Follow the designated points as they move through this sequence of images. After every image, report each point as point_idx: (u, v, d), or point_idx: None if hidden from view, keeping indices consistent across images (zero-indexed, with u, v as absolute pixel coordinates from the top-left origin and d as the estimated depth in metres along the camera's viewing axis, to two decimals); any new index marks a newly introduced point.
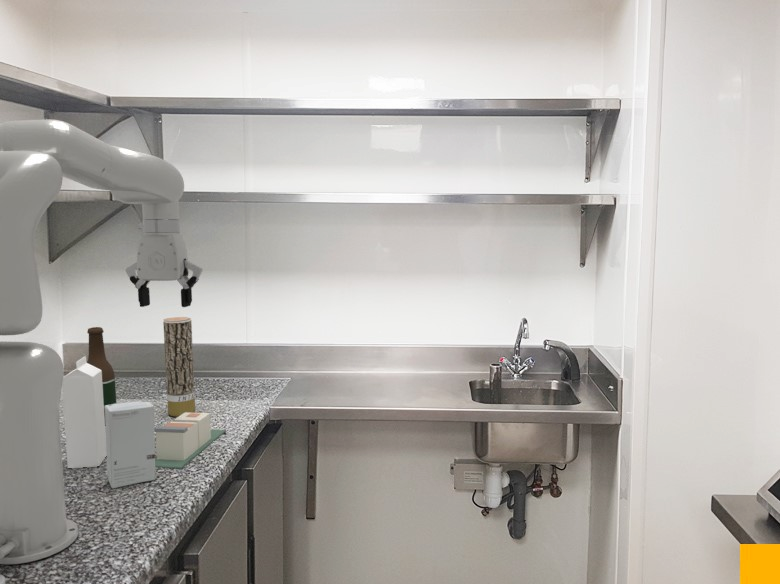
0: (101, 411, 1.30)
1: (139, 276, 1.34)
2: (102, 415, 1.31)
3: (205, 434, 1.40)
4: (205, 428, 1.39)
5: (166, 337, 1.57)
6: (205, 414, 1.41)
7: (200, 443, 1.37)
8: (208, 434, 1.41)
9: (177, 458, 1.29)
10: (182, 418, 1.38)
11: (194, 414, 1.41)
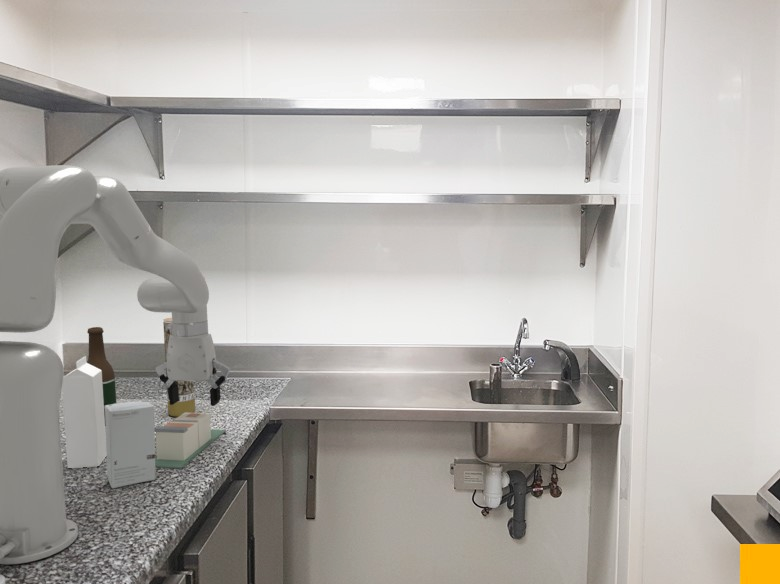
0: (101, 411, 1.30)
1: (169, 377, 1.38)
2: (102, 415, 1.31)
3: (205, 434, 1.40)
4: (205, 428, 1.39)
5: (166, 337, 1.57)
6: (205, 414, 1.41)
7: (200, 443, 1.37)
8: (208, 434, 1.41)
9: (177, 458, 1.29)
10: (182, 418, 1.38)
11: (194, 414, 1.41)
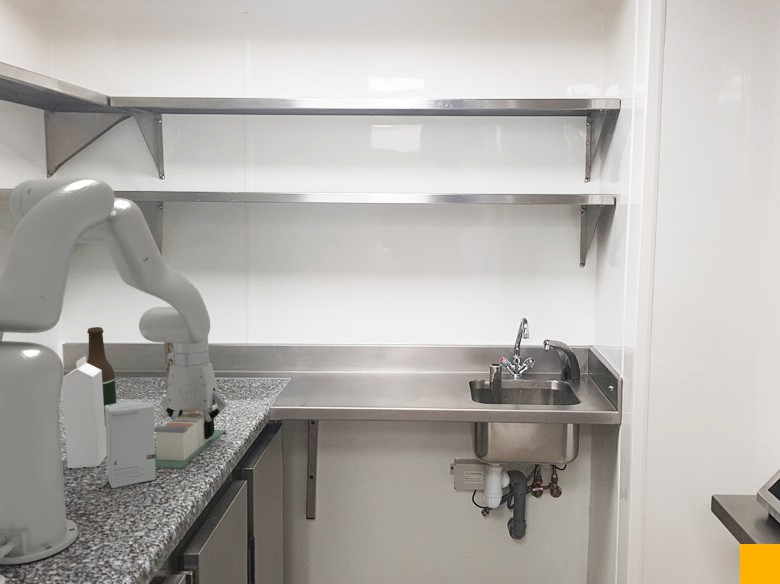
0: (101, 411, 1.30)
1: (169, 406, 1.38)
2: (102, 415, 1.31)
3: None
4: None
5: None
6: None
7: (200, 443, 1.37)
8: None
9: (177, 458, 1.29)
10: (182, 418, 1.38)
11: (194, 414, 1.41)
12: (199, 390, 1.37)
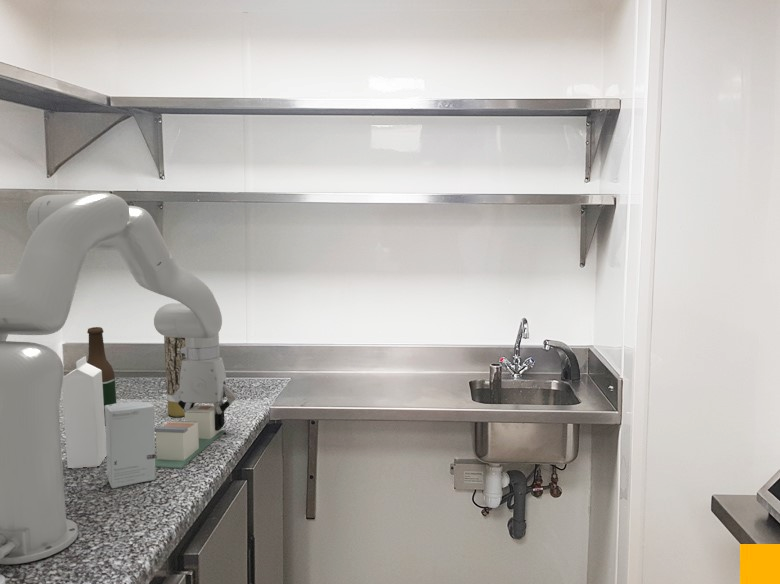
0: (101, 411, 1.30)
1: (182, 399, 1.44)
2: (102, 415, 1.31)
3: None
4: None
5: (166, 337, 1.57)
6: None
7: (211, 434, 1.43)
8: None
9: (177, 458, 1.29)
10: (193, 410, 1.44)
11: (205, 406, 1.46)
12: (210, 383, 1.42)
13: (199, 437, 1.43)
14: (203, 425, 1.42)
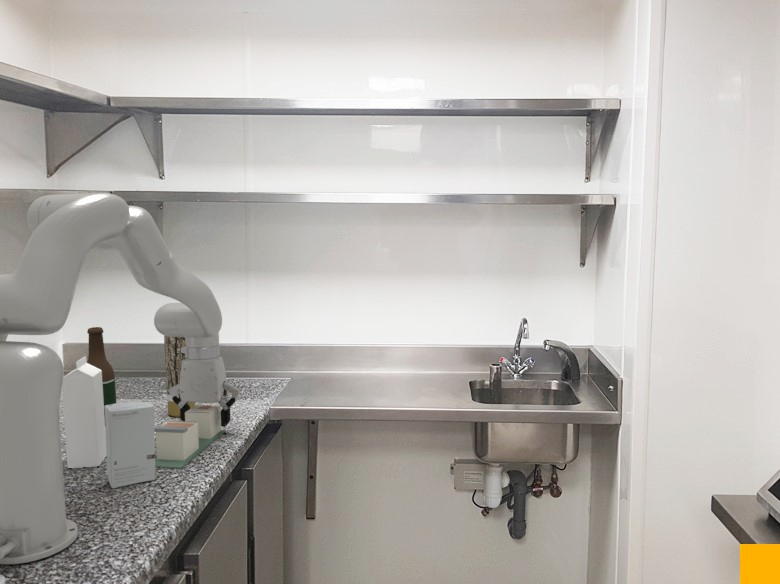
0: (101, 411, 1.30)
1: (182, 398, 1.44)
2: (103, 415, 1.31)
3: (216, 425, 1.45)
4: (216, 419, 1.45)
5: (166, 337, 1.57)
6: (216, 406, 1.47)
7: (211, 434, 1.43)
8: (219, 426, 1.47)
9: (177, 458, 1.29)
10: (194, 410, 1.44)
11: (205, 406, 1.46)
12: (210, 383, 1.42)
13: (199, 437, 1.43)
14: (203, 425, 1.42)
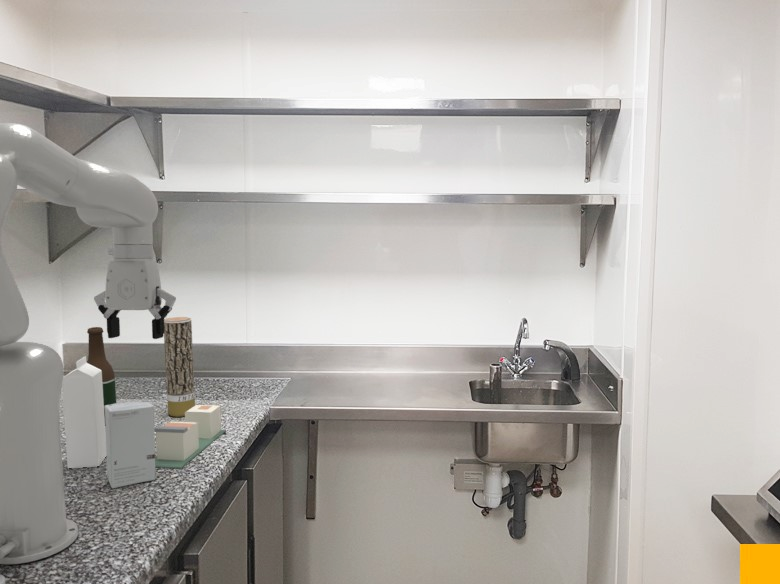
0: (101, 411, 1.30)
1: (107, 305, 1.25)
2: (102, 415, 1.31)
3: (216, 425, 1.45)
4: (216, 419, 1.45)
5: (166, 337, 1.57)
6: (216, 406, 1.47)
7: (211, 434, 1.43)
8: (219, 426, 1.47)
9: (177, 458, 1.29)
10: (194, 410, 1.44)
11: (205, 406, 1.46)
12: (140, 286, 1.23)
13: (199, 437, 1.43)
14: (203, 425, 1.42)
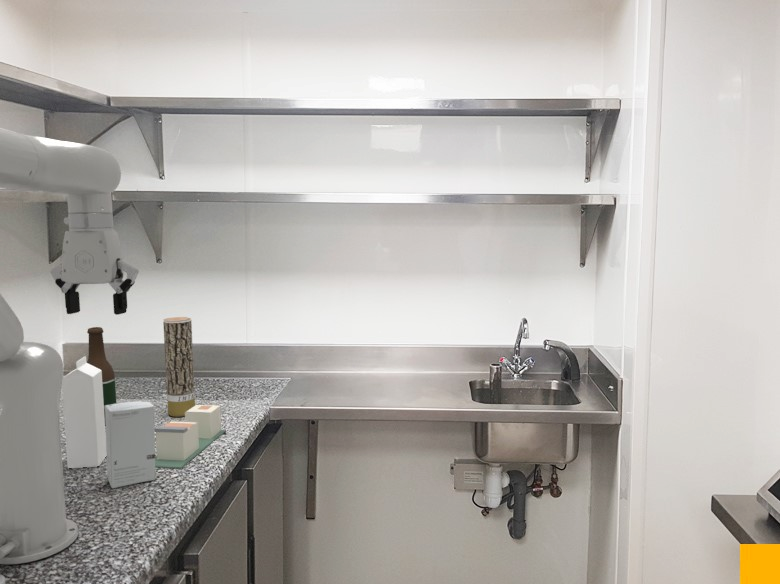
0: (101, 411, 1.30)
1: (65, 279, 1.16)
2: (102, 415, 1.31)
3: (216, 425, 1.45)
4: (216, 419, 1.45)
5: (166, 337, 1.57)
6: (216, 406, 1.47)
7: (211, 434, 1.43)
8: (219, 426, 1.47)
9: (177, 458, 1.29)
10: (194, 410, 1.44)
11: (205, 406, 1.46)
12: (99, 258, 1.15)
13: (199, 437, 1.43)
14: (203, 425, 1.42)
